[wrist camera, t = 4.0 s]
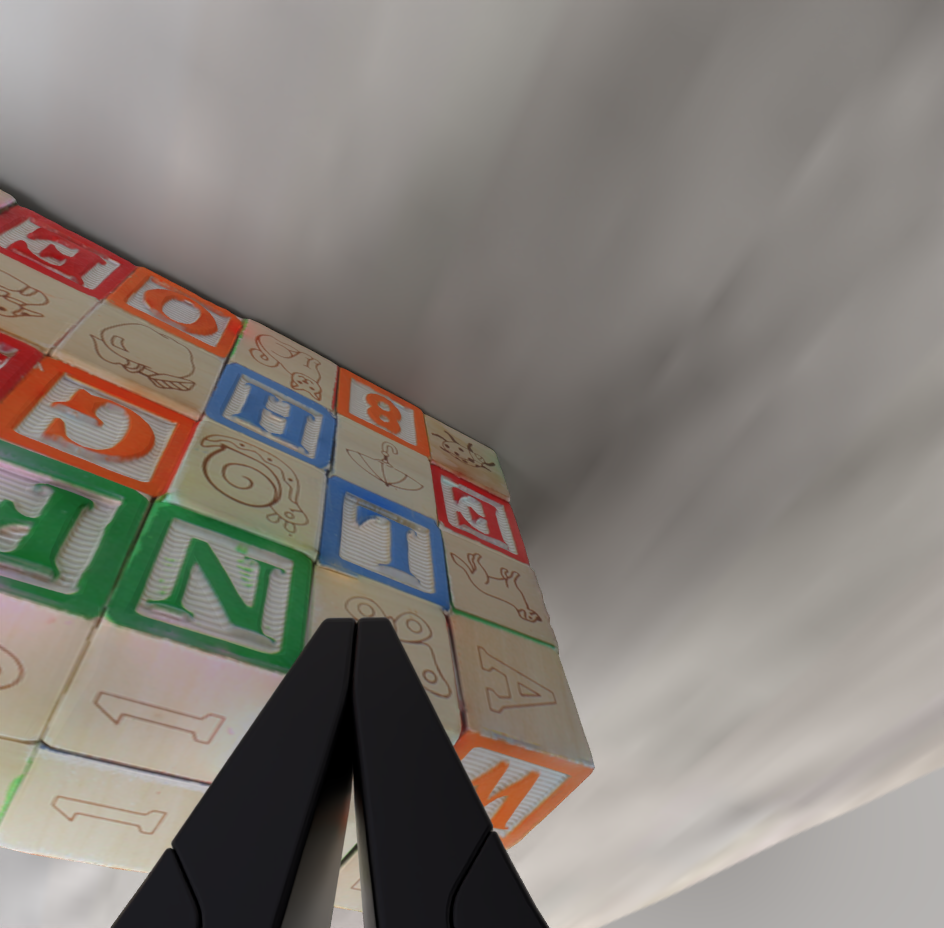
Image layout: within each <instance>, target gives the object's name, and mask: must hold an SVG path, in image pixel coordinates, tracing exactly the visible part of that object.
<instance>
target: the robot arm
mask: <svg viewBox="0 0 944 928" xmlns="http://www.w3.org/2000/svg"><path fill="white" fill-rule="evenodd" d="M352 784H353V785H354V807H355V821H356V834H357V846H358V859H359V872H360V884H361V897H362V910H363V922H364V928H549V926H548V925H547V923H546V921H545V920H544V918H543V916H542V915H541V913H540V912H539V910H538V908H537V907H536V905H535V903H534V902H533V900H532V898H531V896H530V894H529V892H528V890H527V889H526V887H525V885H524V883H523V881H522V879H521V878H520V876H519V874H518V872H517V870H516V868H515V867H514V865H513V863H512V861H511V859H510V857H509V855H508V853H507V851H506V849H505V847H504V845H503V843H502V841H501V839H500V837H499V835H498V833H497V832H495V831H493V824H492V822H491V820H490V818H489V816H488V814H487V812H486V810H485V808H484V806H483V804H482V802H481V800H480V798H479V796H478V794H477V792H476V790H475V788H474V786H473V784H472V782H471V780H470V778H469V776H468V774H467V772H466V770H465V768H464V766H463V764H462V762H461V760H460V758H459V756H458V754H457V752H456V750H455V748H454V746H453V744H452V742H451V740H450V738H449V736H448V734H447V732H446V730H445V728H444V726H443V724H442V723H441V721H440V719H439V717H438V715H437V713H436V711H435V709H434V707H433V705H432V703H431V701H430V699H429V697H428V695H427V693H426V691H425V689H424V687H423V685H422V683H421V681H420V679H419V677H418V675H417V673H416V671H415V669H414V667H413V665H412V663H411V661H410V659H409V657H408V655H407V653H406V651H405V649H404V647H403V645H402V643H401V641H400V639H399V637H398V635H397V633H396V631H395V629H394V627H393V625H392V623H391V621H390V620H389V619H388V618H386V617H362V618H360V619H358V621H357V623H356V620H355V619H354V618H327V619H325V620H324V621H323V622H322V623H321V624H320V626H319V627H318V628H317V630H316V631H315V633H314V634H313V636H312V637H311V639H310V640H309V642H308V643H307V644H306V646H305V647H304V649H303V650H302V652H301V653H300V655H299V656H298V658H297V659H296V661H295V662H294V663H293V665H292V666H291V668H290V669H289V671H288V672H287V674H286V675H285V677H284V678H283V680H282V681H281V682H280V684H279V685H278V687H277V688H276V690H275V691H274V693H273V694H272V696H271V697H270V698H269V700H268V701H267V703H266V704H265V706H264V707H263V709H262V710H261V712H260V713H259V715H258V716H257V717H256V719H255V720H254V722H253V723H252V725H251V726H250V728H249V729H248V731H247V732H246V734H245V735H244V736H243V738H242V739H241V741H240V742H239V744H238V745H237V747H236V748H235V750H234V751H233V752H232V754H231V755H230V757H229V758H228V760H227V761H226V763H225V764H224V766H223V767H222V769H221V770H220V771H219V773H218V774H217V776H216V777H215V779H214V780H213V782H212V783H211V785H210V786H209V788H208V789H207V790H206V792H205V793H204V795H203V796H202V798H201V799H200V801H199V802H198V804H197V805H196V806H195V808H194V809H193V811H192V812H191V814H190V815H189V817H188V818H187V820H186V821H185V823H184V824H183V825H182V827H181V828H180V830H179V831H178V833H177V834H176V836H175V837H174V839H173V840H172V842H171V846H172V848H167V849H166V850H165V851H164V853H163V854H162V856H161V857H160V858H159V860H158V861H157V863H156V864H155V866H154V867H153V869H152V870H151V872H150V873H149V875H148V876H147V878H146V879H145V880H144V882H143V883H142V885H141V886H140V887H139V889H138V890H137V892H136V893H135V894H134V896H133V897H132V899H131V900H130V901H129V903H128V904H127V905H126V907H125V908H124V910H123V911H122V912H121V914H120V915H119V916H118V918H117V919H116V921H115V922H114V923H113V925H112V926H111V928H330V926H331V920H332V914H333V908H334V902H335V895H336V889H337V883H338V877H339V871H340V865H341V859H342V852H343V846H344V840H345V834H346V828H347V822H348V815H349V809H350V802H351V794H352Z"/></svg>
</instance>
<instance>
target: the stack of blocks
mask: <svg viewBox="0 0 944 928" xmlns="http://www.w3.org/2000/svg"><path fill="white" fill-rule="evenodd" d="M509 502H510V494H509V491H508V488H507V484H506V481H505V478H504V475H503V473H502V470H501V467H500V464H499V462H498V459H497V455H496V453H495V452H494V451H493V450H492V449H490V448H488V447H486V446H485V445H483V444H481V443H479V442H477V441H475V440H473V439H471V438H469V437H468V436H466V435H464V434H462V433H460V432H458V431H456V430H454V429H452V428H451V427H449V426H447V425H445V424H443V423H441V422H439V421H438V420H436V419H434V418H432V417H430V416H428V415H425V414H423V412H422V411H421V410H420V409H419V408H418V407H416V406H414V405H412V404H410V403H409V402H407V401H405V400H403V399H401V398H399V397H397V396H395V395H393V394H392V393H390V392H388V391H386V390H384V389H382V388H380V387H378V386H376V385H374V384H373V383H371V382H369V381H367V380H365V379H363V378H361V377H359V376H357V375H355V374H354V373H352V372H350V371H348V370H346V369H344V368H341V367H338V366H337V365H335V364H334V363H333V362H331V361H329V360H327V359H326V358H324V357H322V356H320V355H318V354H317V353H315V352H313V351H311V350H309V349H307V348H305V347H303V346H301V345H300V344H298V343H296V342H294V341H292V340H290V339H288V338H287V337H285V336H283V335H281V334H279V333H277V332H275V331H273V330H271V329H269V328H267V327H265V326H264V325H262V324H260V323H258V322H255V321H253V320H251V319H242V318H239V317H237V316H235V315H234V314H232V313H231V312H229V311H228V310H226V309H224V308H221V307H219V306H217V305H215V304H213V303H211V302H209V301H207V300H205V299H202V298H201V297H199V296H198V295H196V294H194V293H193V292H191V291H189V290H187V289H185V288H183V287H181V286H179V285H177V284H175V283H173V282H171V281H169V280H167V279H166V278H164V277H162V276H160V275H158V274H156V273H154V272H152V271H150V270H149V269H147V268H145V267H139V266H135V265H133V264H132V263H130V262H129V261H127V260H125V259H123V258H121V257H119V256H117V255H115V254H114V253H112V252H110V251H108V250H106V249H105V248H103V247H101V246H99V245H97V244H95V243H93V242H91V241H90V240H88V239H86V238H84V237H82V236H80V235H78V234H76V233H74V232H72V231H70V230H67V229H65V228H63V227H62V226H60V225H59V224H57V223H55V222H53V221H51V220H49V219H47V218H45V217H43V216H41V215H39V214H38V213H36V212H34V211H32V210H29V209H27V208H24V207H21V206H19V205H18V204H17V202H16V200H15V199H14V198H13V197H12V196H11V195H9V194H8V193H6V192H4V191H2V190H0V847H2V848H7V849H11V850H15V851H19V852H24V853H28V854H33V855H39V856H45V857H51V858H57V859H63V860H70V861H76V862H82V863H89V864H95V865H99V866H104V867H109V868H114V869H122V870H129V871H136V872H143V873H149V872H151V870H152V869H153V867H154V866H155V864H156V863H157V861H158V860H159V858H160V857H161V856H162V854H163V853H164V851H165V850H166V849H167V848H172V846H171V842H172V840H173V839H174V837H175V836H176V834H177V833H178V831H179V830H180V828H181V827H182V825H183V824H184V823H185V821H186V820H187V818H188V817H189V815H190V814H191V812H192V811H193V809H194V808H195V806H196V805H197V804H198V802H199V801H200V799H201V798H202V796H203V795H204V793H205V792H206V790H207V789H208V788H209V786H210V785H211V783H212V782H213V780H214V779H215V777H216V776H217V774H218V773H219V771H220V770H221V769H222V767H223V766H224V764H225V763H226V761H227V760H228V758H229V757H230V755H231V754H232V752H233V751H234V750H235V748H236V747H237V745H238V744H239V742H240V741H241V739H242V738H243V736H244V735H245V734H246V732H247V731H248V729H249V728H250V726H251V725H252V723H253V722H254V720H255V719H256V717H257V716H258V715H259V713H260V712H261V710H262V709H263V707H264V706H265V704H266V703H267V701H268V700H269V698H270V697H271V696H272V694H273V693H274V691H275V690H276V688H277V687H278V685H279V684H280V682H281V681H282V680H283V678H284V677H285V675H286V674H287V672H288V671H289V669H290V668H291V666H292V665H293V663H294V662H295V661H296V659H297V658H298V656H299V655H300V653H301V652H302V650H303V649H304V647H305V646H306V644H307V643H308V642H309V640H310V639H311V637H312V636H313V634H314V633H315V631H316V630H317V628H318V627H319V626H320V624H321V623H322V622H323V621H324V620H325V619H327V618H354V619H355V620H356V623H357V621H358V619H360V618H362V617H386V618H388V619H389V620H390V621H391V623H392V625H393V627H394V629H395V631H396V633H397V635H398V637H399V639H400V641H401V643H402V645H403V647H404V649H405V651H406V653H407V655H408V657H409V659H410V661H411V663H412V665H413V667H414V669H415V671H416V673H417V675H418V677H419V679H420V681H421V683H422V685H423V687H424V689H425V691H426V693H427V695H428V697H429V699H430V701H431V703H432V705H433V707H434V709H435V711H436V713H437V715H438V717H439V719H440V721H441V723H442V724H443V726H444V728H445V730H446V732H447V734H448V736H449V738H450V740H451V742H452V744H453V746H454V748H455V750H456V752H457V754H458V756H459V758H460V760H461V762H462V764H463V766H464V768H465V770H466V772H467V774H468V776H469V778H470V780H471V782H472V784H473V786H474V788H475V790H476V792H477V794H478V796H479V798H480V800H481V802H482V804H483V806H484V808H485V810H486V812H487V814H488V816H489V818H490V820H491V822H492V824H493V831H495V832H497V833H498V835H499V837H500V839H501V841H502V843H503V845H504V847H505V849H506V850H507V849H510V848H511V847H512V846H514V845H515V844H517V843H518V842H519V841H521V840H522V839H523V838H524V837H525V836H526V835H527V834H528V833H529V832H530V831H531V830H532V829H533V828H534V827H535V826H536V825H537V824H539V823H540V822H541V821H542V820H543V819H544V818H545V817H546V816H547V815H548V814H549V813H550V812H551V811H552V810H554V809H555V808H556V807H557V806H558V805H559V804H560V803H561V802H562V801H563V800H564V799H565V798H566V797H567V796H568V795H569V794H570V793H571V792H572V791H574V790H575V789H576V788H577V787H578V786H579V785H580V784H581V783H582V782H583V781H584V780H585V779H586V778H587V777H588V776H589V775H590V774H591V773H592V772H593V770H594V768H595V767H594V762H593V759H592V755H591V751H590V748H589V745H588V742H587V739H586V737H585V734H584V731H583V728H582V724H581V721H580V718H579V715H578V712H577V709H576V706H575V702H574V699H573V696H572V694H571V691H570V688H569V685H568V682H567V679H566V676H565V673H564V670H563V667H562V664H561V661H560V658H559V649H558V643H557V640H556V637H555V634H554V631H553V629H552V627H551V625H550V617H549V615H548V612H547V610H546V607H545V604H544V602H543V596H542V592H541V590H540V587H539V584H538V581H537V578H536V575H535V572H534V571H533V570H532V569H531V568H530V565H529V561H528V557H527V554H526V551H525V547H524V543H523V540H522V538H521V535H520V532H519V528H518V525H517V522H516V519H515V517H514V514H513V511H512V508H511V506H510V504H509ZM334 907H337V908H342V909H348V910H354V911H360V912H363V910H362V897H361V884H360V872H359V859H358V846H357V834H356V821H355V807H354V785H353V784H352V794H351V802H350V809H349V815H348V822H347V828H346V834H345V840H344V846H343V852H342V859H341V865H340V871H339V877H338V883H337V889H336V895H335V902H334Z"/></svg>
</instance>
